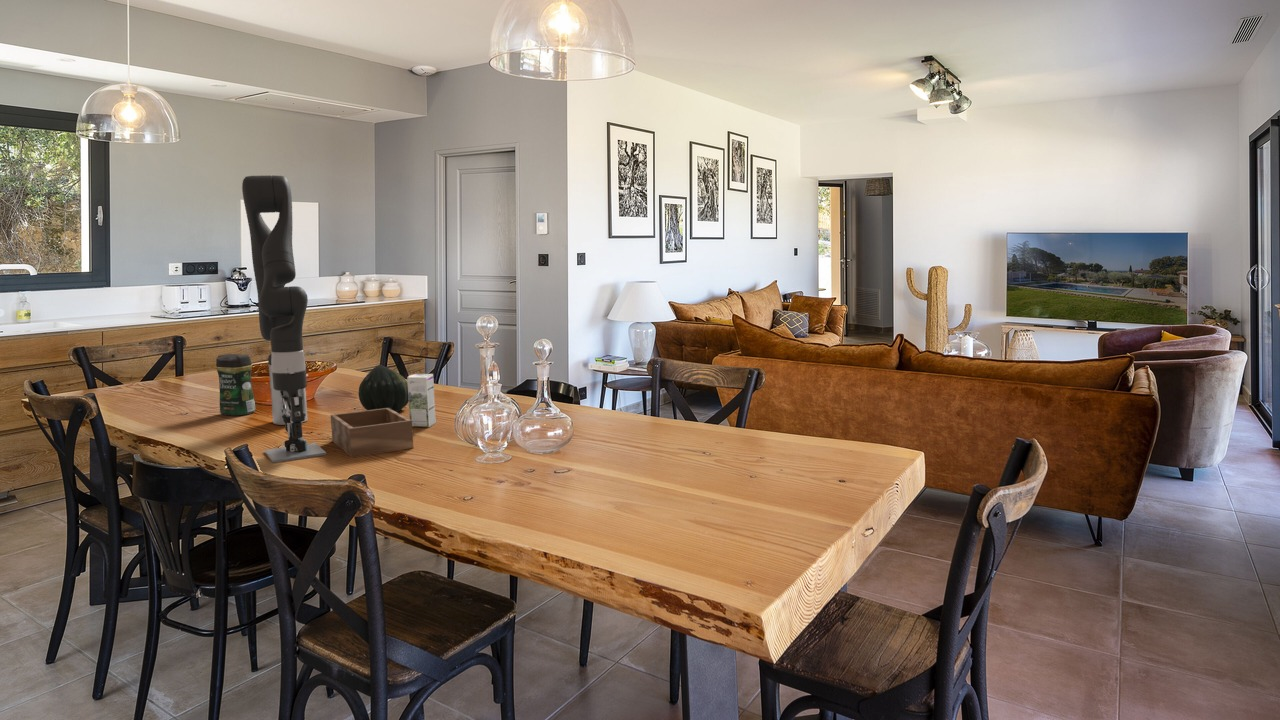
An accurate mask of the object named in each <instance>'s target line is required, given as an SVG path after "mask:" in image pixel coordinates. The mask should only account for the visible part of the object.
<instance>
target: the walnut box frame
mask: <svg viewBox="0 0 1280 720" xmlns="http://www.w3.org/2000/svg"><path fill="white" fill-rule="evenodd" d="M330 427H331V441H332V442H333V443H334V444H335V445H337V446H338V447H339V448H340V449H341V450H342V451H344V452H345V453H346V454H347V455H349V456H350V457H351V458H357V457H362V456H369V455H376V454H382V453H388V452H389V453H391V452H397V451H402V450H409V449H414V435H413V434H414V433H413V427H412V420H410V418H408V417H406V416H405V415H403V414H402V413H401V414H400V413H399V412H395V411H393V410H392V409H390V408H383V409H375V410H366V409H365V410H359V411H352V412H350V411H349V412H344V413H335V414H330Z"/></svg>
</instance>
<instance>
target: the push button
mask: <svg viewBox="0 0 1280 720" xmlns="http://www.w3.org/2000/svg"><path fill="white" fill-rule="evenodd" d="M294 416H295V417H299V416H298V415H294ZM305 416H306V414H305V413H303V417H304V420H305ZM282 418H283V421H284V422H285V423H287V427H288V432H287V440H284V442H283V443H281V444H280V445H282V446H284V447H282V448H284V449H286V451H291V452H303V451H306V450H307V445H306V444H307V439H305V438H304V435H303V433H302V438H296V439H294V438H293V437H292V429H291V422H290V416H288V415H287V412H286V414H285V415H282ZM301 423H302V424H303V422H301Z"/></svg>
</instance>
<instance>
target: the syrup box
mask: <svg viewBox="0 0 1280 720" xmlns="http://www.w3.org/2000/svg"><path fill="white" fill-rule="evenodd" d="M406 379H407V380H406V381H407V383H408V399H409V401H408V413H409V419H410V420H412V428H430V427H432V426H434V425H435V424H436V422H437V421H436V419H437V418H436V407H435V406H436V405H435V385H434V383H435V382H434V381H435V379H434V373H413V374H410V375H408V376H407V378H406Z"/></svg>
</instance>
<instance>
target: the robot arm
mask: <svg viewBox="0 0 1280 720" xmlns="http://www.w3.org/2000/svg"><path fill="white" fill-rule="evenodd" d="M241 184H242V186H241V188H242V199H243V203H244V207H245V214H246V218H247V225H248V230H249V236H250V246H251V247H250V248H251V258H252V259H251V260H252V267H253V272H254V278H255V285H256V291H257V302H258V303H257V305H258V319H259V324H258V325H259V330H260V331H259V332H260V334H261V337H262V339H263V340H265V341H270V347H271V348H270V349H271V353H270V354H269V355H268V356H267V360H268V361H267V363H268V375H269V384H270V386H269V387H270V399H271V400H270V401H271V413H272V423H273V424H274V425H279V426H280V425H281V426H284V427H285V431H286V432H287V433H288V427H287V423H285V422H284V421H283V418H282V415H285V414H286V412H287V415H288V416H290V422H291V429H292V437H293V438H294V439H296V438H302V434H303V423H305V422H307V421H308V408H307V406H308V405H307V393H306V388H307V386H308V381H307V379H308V378H307V368H306V357H305V353H304V352H305V351H304V343H303V342H304V341H303V325H304V320H305V315H306V310H307V307H308V303H309V302H308V299H309V297H308V294H307V293H306V291H305V289H304V288H302V287H301V286H298V285H297V286H286V285H287V284H289V283H292V282H293V281H294V280H295V278H296V275H297V273H296V266H295V258H294V251H293V200H292V199H293V197H292V189H291V185H290V183H289V180H288V178H287V177H286V176H283V175H248V176H245V177H244V178H243V179H242V183H241ZM262 213H264V214H266V213H267V214H268V213H274V214H275V213H278V219H277V221H276V223H275V225H274V227H273V229H271V228H270V227H269V226H268V225H267V223H266V222H265V220H264V218H263V216H262ZM303 413H305V414H306V416H305V420H304V417H303ZM294 415H298V416H299V417H295V416H294ZM301 422H302V423H301Z"/></svg>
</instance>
